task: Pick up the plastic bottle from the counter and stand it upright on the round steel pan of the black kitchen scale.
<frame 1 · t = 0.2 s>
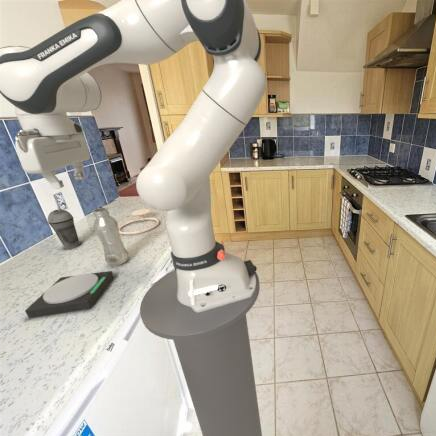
hand: (70, 183, 64), 31 cm above the countertop, tool pointing down, fingers open, 8 cm apart
beverage cup: (72, 246, 97), on the countertop
plastic bottle: (119, 263, 85), on the countertop
kitchen scale: (76, 295, 70), on the countertop
hand towel holder: (140, 225, 114), on the countertop
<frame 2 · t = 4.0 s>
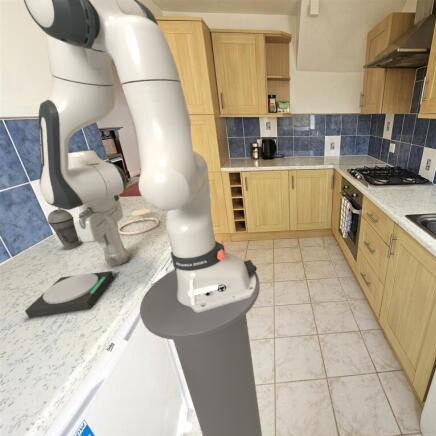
hand: (109, 241, 82), 9 cm above the countertop, tool pointing down, fingers closed on plastic bottle, 5 cm apart
plastic bottle: (119, 263, 85), on the countertop, touching arm, gripper
everything else where it was.
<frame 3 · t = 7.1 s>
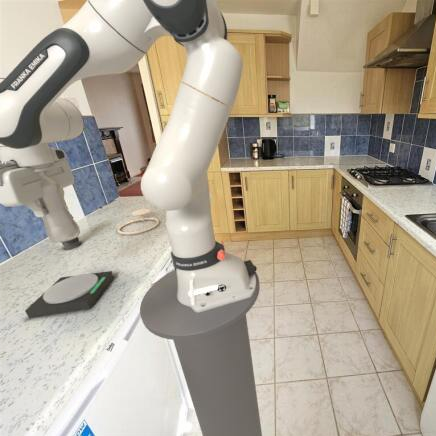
hand: (52, 210, 63), 25 cm above the countertop, tool pointing down, fingers closed on plastic bottle, 5 cm apart
plastic bottle: (68, 240, 67), point 16 cm above the countertop, touching arm, gripper
everything else where it was.
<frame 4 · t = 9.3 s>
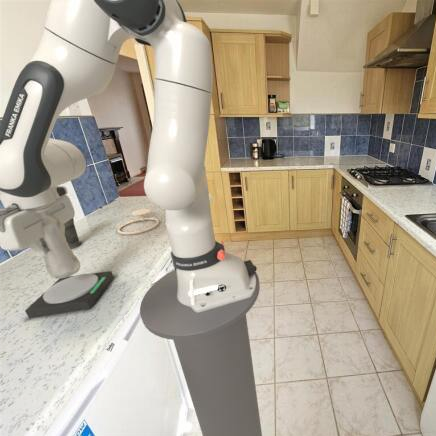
hand: (53, 247, 63), 16 cm above the countertop, tool pointing down, fingers closed on plastic bottle, 5 cm apart
plastic bottle: (68, 275, 67), point 7 cm above the countertop, touching arm, gripper
everything else where it was.
when the fingers open (12 cm above the countertop, at t = 10.9 s): plastic bottle stays where it is, resting on kitchen scale.
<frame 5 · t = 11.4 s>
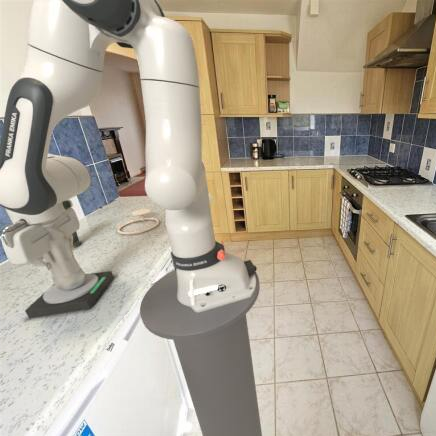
hand: (59, 259, 65), 12 cm above the countertop, tool pointing down, fingers open, 8 cm apart
plastic bottle: (74, 286, 69), point 3 cm above the countertop, touching kitchen scale
everything else where it was.
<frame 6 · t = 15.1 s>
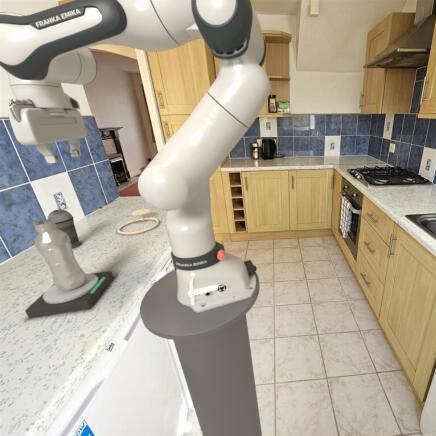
hand: (66, 159, 63), 37 cm above the countertop, tool pointing down, fingers open, 8 cm apart
nothing on the countertop moved.
at the end: plastic bottle inside the target area on the kitchen scale (0.6 cm from its centre), point 3.1 cm above the kitchen scale's base; plastic bottle tilted 0°; the gripper is holding nothing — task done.
